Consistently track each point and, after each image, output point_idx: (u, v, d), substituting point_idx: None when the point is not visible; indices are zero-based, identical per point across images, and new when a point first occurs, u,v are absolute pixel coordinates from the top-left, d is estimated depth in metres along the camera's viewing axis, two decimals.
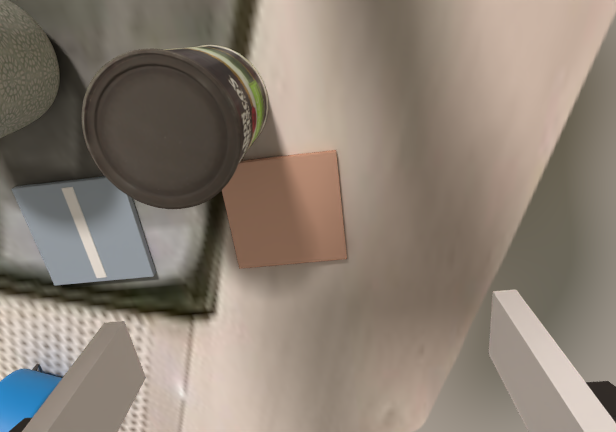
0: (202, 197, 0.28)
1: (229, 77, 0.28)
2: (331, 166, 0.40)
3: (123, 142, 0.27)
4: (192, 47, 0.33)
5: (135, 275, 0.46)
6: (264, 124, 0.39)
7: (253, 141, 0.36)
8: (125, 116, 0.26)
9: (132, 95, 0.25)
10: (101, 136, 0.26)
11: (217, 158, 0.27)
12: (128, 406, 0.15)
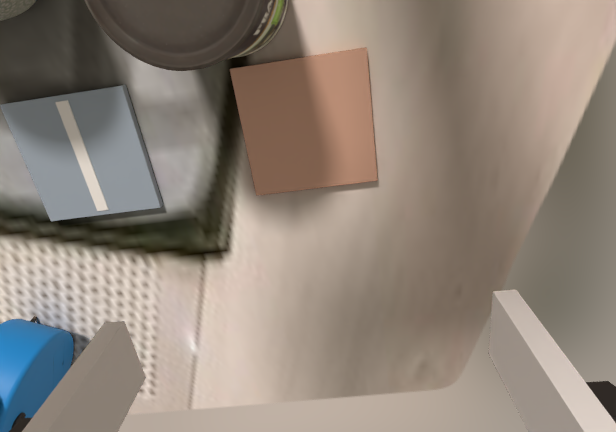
0: (219, 52, 0.23)
1: None
2: (361, 66, 0.35)
3: None
4: None
5: (140, 206, 0.42)
6: (284, 16, 0.34)
7: (273, 25, 0.31)
8: None
9: None
10: None
11: None
12: (128, 406, 0.15)
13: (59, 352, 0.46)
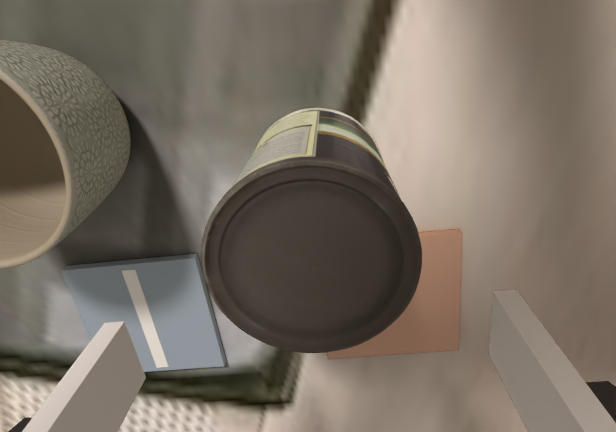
0: (354, 340, 0.21)
1: (387, 177, 0.21)
2: (454, 249, 0.33)
3: (255, 274, 0.19)
4: (313, 121, 0.25)
5: (202, 365, 0.39)
6: None
7: None
8: (262, 243, 0.19)
9: (276, 217, 0.18)
10: (225, 266, 0.19)
11: (382, 294, 0.20)
12: (128, 406, 0.15)
13: None
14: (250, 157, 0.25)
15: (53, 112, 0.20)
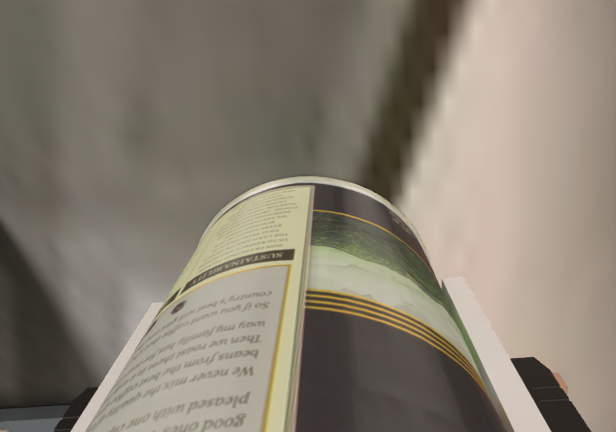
0: None
1: None
2: None
3: None
4: (298, 233, 0.11)
5: None
6: None
7: None
8: None
9: None
10: None
11: None
12: None
13: None
14: (157, 313, 0.11)
15: None
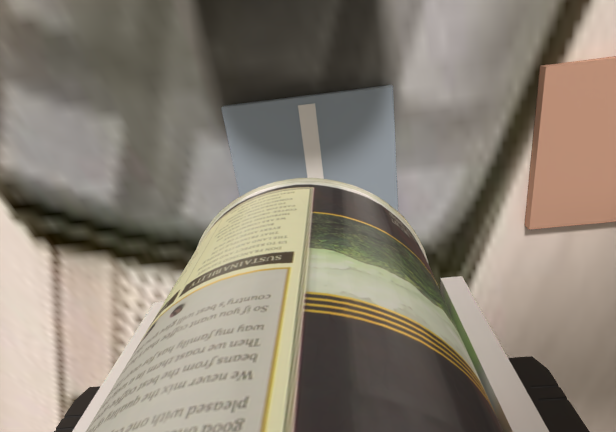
0: None
1: None
2: None
3: None
4: (297, 235, 0.11)
5: None
6: None
7: None
8: None
9: None
10: None
11: None
12: None
13: None
14: (156, 315, 0.11)
15: None
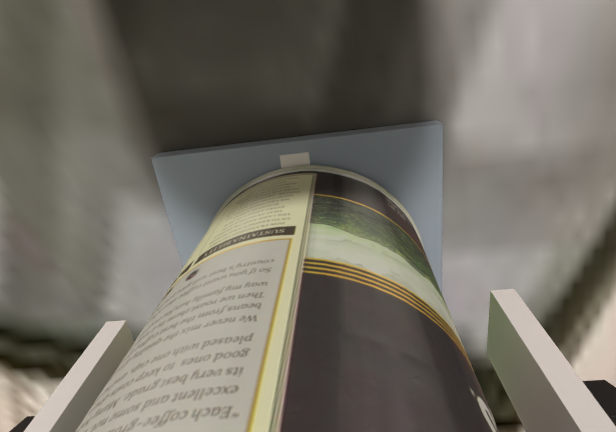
0: None
1: (480, 409, 0.08)
2: None
3: None
4: (299, 213, 0.12)
5: None
6: None
7: None
8: None
9: None
10: None
11: None
12: None
13: None
14: None
15: None
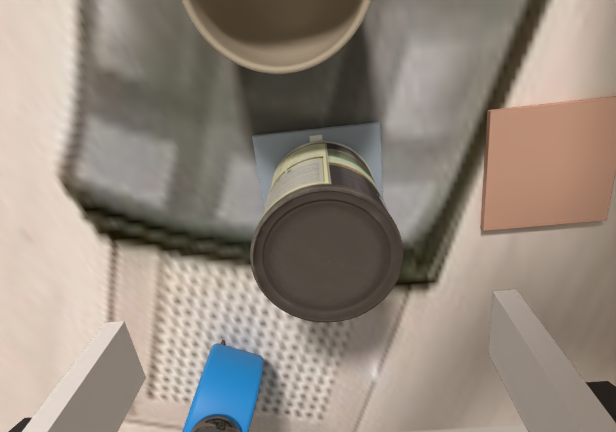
0: (355, 313, 0.29)
1: (379, 196, 0.30)
2: None
3: (287, 264, 0.28)
4: (323, 153, 0.34)
5: None
6: None
7: None
8: (293, 243, 0.27)
9: (304, 225, 0.27)
10: (267, 259, 0.28)
11: (375, 279, 0.28)
12: (128, 406, 0.15)
13: None
14: (276, 180, 0.34)
15: None
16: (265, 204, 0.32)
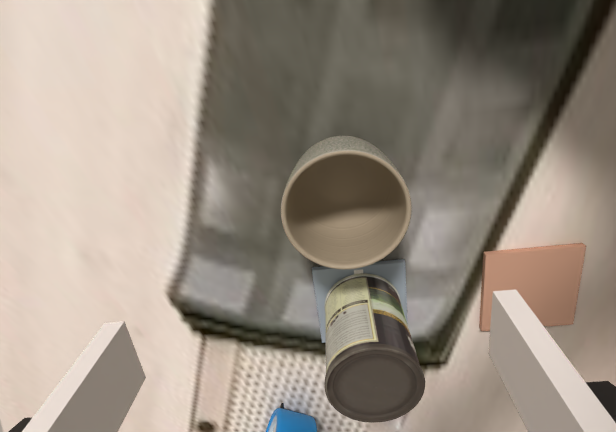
0: (392, 417, 0.44)
1: (408, 338, 0.44)
2: (579, 256, 0.51)
3: (349, 389, 0.42)
4: (367, 295, 0.48)
5: None
6: None
7: None
8: (353, 377, 0.42)
9: (361, 367, 0.41)
10: (335, 386, 0.42)
11: (406, 397, 0.43)
12: (128, 406, 0.15)
13: None
14: (334, 314, 0.48)
15: None
16: (328, 335, 0.47)
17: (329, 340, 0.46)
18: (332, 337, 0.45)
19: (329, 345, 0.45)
